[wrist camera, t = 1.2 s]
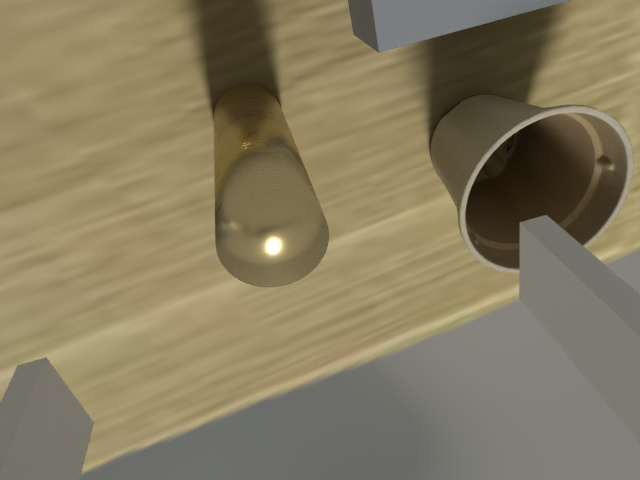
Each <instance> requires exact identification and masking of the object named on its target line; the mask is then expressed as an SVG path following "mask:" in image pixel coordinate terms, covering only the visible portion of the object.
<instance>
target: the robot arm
mask: <svg viewBox="0 0 640 480" xmlns="http://www.w3.org/2000/svg"><path fill="white" fill-rule="evenodd" d="M519 299H520V300H521V301H522V302H523V304H524V305H525V306H526V307H527V308H528V310H529V311H530V312H531V313H532V314H533V316H534V317H535V318H536V319H537V320H538V322H539V323H540V324H541V325H542V327H543V328H544V329H545V330H546V331H547V333H548V334H549V335H550V336H551V337H552V339H553V340H554V341H555V342H556V343H557V344H558V346H559V347H560V348H561V349H562V351H563V352H564V353H565V354H566V355H567V357H568V358H569V359H570V360H571V361H572V363H573V364H574V365H575V366H576V367H577V369H578V370H579V371H580V372H581V374H582V375H583V376H584V377H585V378H586V380H587V381H588V382H589V383H590V384H591V386H592V387H593V388H594V389H595V390H596V392H597V393H598V394H599V395H600V396H601V397H602V399H603V400H604V401H605V402H606V404H607V405H608V406H609V407H610V408H611V409H612V411H613V412H614V413H615V414H616V416H617V417H618V418H619V419H620V420H621V422H622V423H623V424H624V425H625V426H626V428H627V429H628V430H629V431H630V432H631V434H632V435H633V436H634V437H635V439H636V440H637V441H638V442H639V443H640V294H639V293H638V292H636V291H635V290H634V289H633V288H632V287H630V286H629V285H628V284H627V283H626V282H625V281H623V280H622V279H621V278H620V277H619V276H617V275H616V274H615V273H614V272H613V271H612V270H610V269H609V268H608V267H607V266H606V265H605V264H603V263H602V262H601V261H600V260H599V259H598V258H596V257H595V256H594V255H593V254H592V253H591V252H589V251H588V250H587V249H586V248H585V247H583V246H582V245H581V244H580V243H579V242H578V241H576V240H575V239H574V238H573V237H572V236H571V235H569V234H568V233H567V232H566V231H565V230H564V229H562V228H561V227H560V226H559V225H558V224H556V223H555V222H554V221H553V220H552V219H551V218H549V217H548V216H547V215H544V216H541V217H537V218H534V219H530V220H527V221H523V222H520V289H519ZM93 424H94V422H93V421H92V419H91V418H90V417H89V415H88V414H87V412H86V411H85V410H84V408H83V407H82V406H81V404H80V403H79V401H78V400H77V399H76V397H75V396H74V395H73V393H72V392H71V391H70V389H69V388H68V386H67V385H66V384H65V382H64V381H63V380H62V378H61V377H60V376H59V374H58V373H57V371H56V370H55V369H54V367H53V366H52V365H51V363H50V362H49V360H48V359H47V358H42V359H39V360H35V361H32V362H28V363H25V364H21V365H18V366H17V368H16V370H15V372H14V375H13V377H12V379H11V381H10V383H9V386H8V388H7V390H6V392H5V394H4V396H3V399H2V401H1V403H0V480H79V479H80V475H81V472H82V468H83V464H84V460H85V456H86V452H87V448H88V444H89V440H90V436H91V432H92V428H93Z"/></svg>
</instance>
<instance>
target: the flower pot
mask: <svg viewBox="0 0 640 480" xmlns="http://www.w3.org/2000/svg"><path fill="white" fill-rule="evenodd" d="M513 134H514V140H513V144H512V146H511V147H510V149H509V150H506V149H507V145H508V141H509V138H510V136H512V135H513ZM633 157H634V156H633V150H632V145H631V141H630V139H629V137H628V135H627V133H626V131H625V129H624V128H623V127H622V125H621V124H620V123H619V122H618V120H616V119H615V118H614V117H612V116H611V115H609V114H608V113H605V112H603V111H601V110H599V109H596V108H593V107H588V106H584V105H562V106H555V107H547V108H542V107H538V106H534V105H530V104H525V103H521V102H517V101H514V100H510V99H506V98H502V97H499V96H495V95H478V96H473V97H470V98H467V99H465V100H463V101H461V102H460V103H459V104H458V105H457V106H456V107H455V108H453V109H452V110H451V111H450V112H449V113H448V114H446V115H445V116H444V117H443V118H442V119H441V120H440V122H439V124H438V125H437V127H436V130H435V132H434V134H433V137H432V141H431V160H432V164H433V166H434V168H435V170H436V172H437V174H438V176H439V177H440V178H441V180H442V182H443V183H444V185H445V187H446V188H447V190H448V192H449V194H450V196H451V198H452V199H453V201H454V203H455V205H456V207H457V212H458V223H459V229H460V233H461V236H462V239H463V241H464V243H465V245H466V247H467V248H468V250H469V251H470V252H471V254H472V255H473V256H474V257H475V258H476V259H477V260H478V261H479V262H481V263H482V264H484V265H485V266H487V267H490V268H491V269H494V270H497V271H502V272H507V273H520V222H523V221H527V220H530V219H534V218H537V217H541V216H544V215H547V216H548V217H549V218H551V219H552V220H553V221H554V222H555V223H556V224H558V225H559V226H560V227H561V228H562V229H564V230H565V231H566V232H567V233H568V234H569V235H571V236H572V237H573V238H574V239H575V240H576V241H578V242H579V243H580V244H581V245H582V246H583V247H585V248H587V247H589V246H590V245H591V244H592V243H593V242H594V241H595V240H596V239H597V238H598V237H599V236H600V235H602V234H603V233H604V232H605V230H606V229H607V228H608V227H609V225H610V224H611V223H612V221H613V220H614V219H615V217H616V216H617V215H618V213H619V211H620V209H621V207H622V205H623V203H624V201H625V200H626V197H627V194H628V191H629V187H630V184H631V180H632V176H633V165H634V158H633Z"/></svg>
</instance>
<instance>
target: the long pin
mask: <svg viewBox="0 0 640 480" xmlns="http://www.w3.org/2000/svg"><path fill="white" fill-rule="evenodd" d="M214 173H215V238H216V250H217V254H218V257H219V259H220V261H221V263H222V264H223V266H224V267H225V269H226V270H227V271H228V272H229V273H230V274H232V275H233V276H234V277H236V278H237V279H239V280H240V281H243V282H245V283H247V284H250V285H254V286H259V287H278V286H284V285H288V284H291V283H293V282H296V281H298V280H300V279H302V278H303V277H305V276H306V275H308V274H309V273H310V272H312V271H313V270H314V269H315V268H316V267H317V265H318V264H319V263H320V261H321V260H322V258H323V257H324V254H325V252H326V250H327V246H328V241H329V230H328V225H327V222H326V219H325V216H324V214H323V211H322V209H321V206H320V204H319V202H318V199H317V197H316V194H315V192H314V189H313V187H312V184H311V182H310V179H309V177H308V174H307V172H306V169H305V167H304V164H303V162H302V159H301V157H300V154H299V152H298V149H297V147H296V144H295V142H294V139H293V137H292V134H291V132H290V129H289V127H288V124H287V122H286V119H285V117H284V114H283V112H282V109H281V107H280V104H279V102H278V101H277V99H276V98H275V97H274V95H273V94H272V93H270V92H269V91H268V90H266V89H265V88H263V87H261V86H258V85H253V84H242V85H237V86H234V87H232V88H230V89H229V90H227V91H226V92H225V93H224V94H223V95H222V96H221V97H220V98H219V100H218V102H217V104H216V106H215V110H214Z"/></svg>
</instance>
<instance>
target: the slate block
mask: <svg viewBox="0 0 640 480" xmlns="http://www.w3.org/2000/svg"><path fill="white" fill-rule="evenodd" d="M566 1H570V0H348V2H349V8H350V14H351V20H352V26H353V32H354V35H355V36H356V37H358V38H359V39H361V40H362V41H363V42H365V43H366V44H368V45H369V46H371V47H372V48H373V49H375V50H376V51H378V52H383V51H386V50H390V49H394V48H397V47H401V46H405V45H408V44H412V43H416V42H419V41H423V40H427V39H430V38H434V37H438V36H441V35H445V34H449V33H452V32H456V31H460V30H463V29H467V28H471V27H474V26H478V25H482V24H486V23H489V22H493V21H497V20H500V19H504V18H508V17H511V16H515V15H519V14H522V13H526V12H530V11H533V10H537V9H541V8H544V7H548V6H552V5H555V4H559V3H563V2H566Z"/></svg>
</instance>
